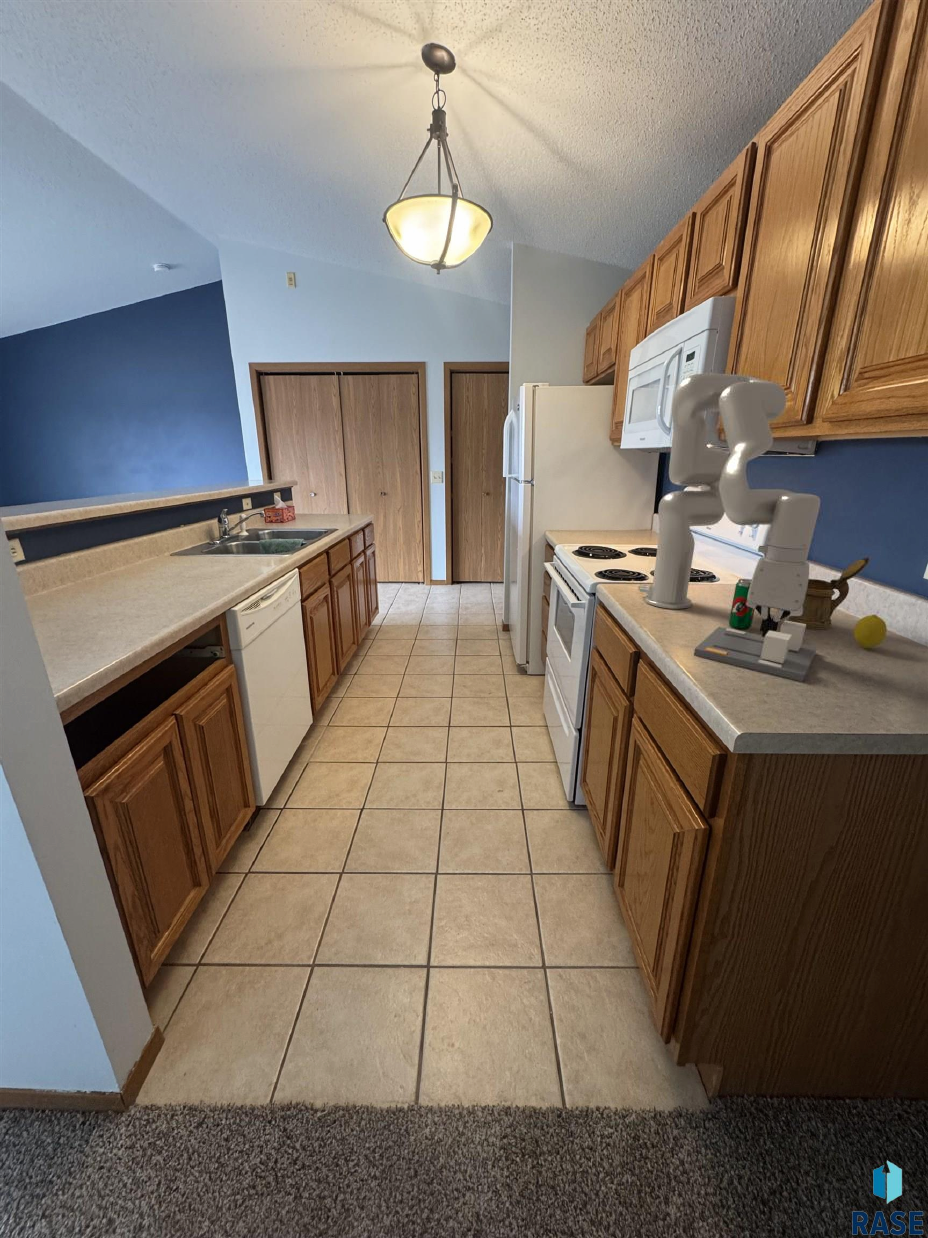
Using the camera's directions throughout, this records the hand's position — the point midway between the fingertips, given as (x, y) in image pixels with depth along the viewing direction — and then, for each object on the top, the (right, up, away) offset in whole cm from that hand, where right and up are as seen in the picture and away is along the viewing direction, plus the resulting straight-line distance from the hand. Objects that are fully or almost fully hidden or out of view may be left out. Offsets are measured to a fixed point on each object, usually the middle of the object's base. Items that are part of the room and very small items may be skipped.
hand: (767, 635), depth 110 cm
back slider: (+3, -2, -2) cm, 5 cm away
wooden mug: (+23, +2, +17) cm, 29 cm away
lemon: (+23, -3, +2) cm, 23 cm away
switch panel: (-4, -4, -2) cm, 6 cm away
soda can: (+2, +2, +15) cm, 15 cm away
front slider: (-4, -4, -8) cm, 10 cm away
